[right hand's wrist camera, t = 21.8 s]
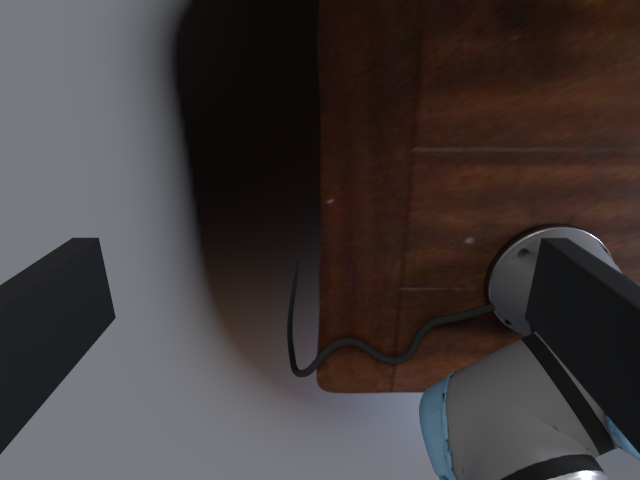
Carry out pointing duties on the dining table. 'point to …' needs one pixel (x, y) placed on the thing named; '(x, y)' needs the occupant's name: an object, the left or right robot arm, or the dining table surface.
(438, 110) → the dining table surface
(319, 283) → the dining table surface
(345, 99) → the dining table surface
